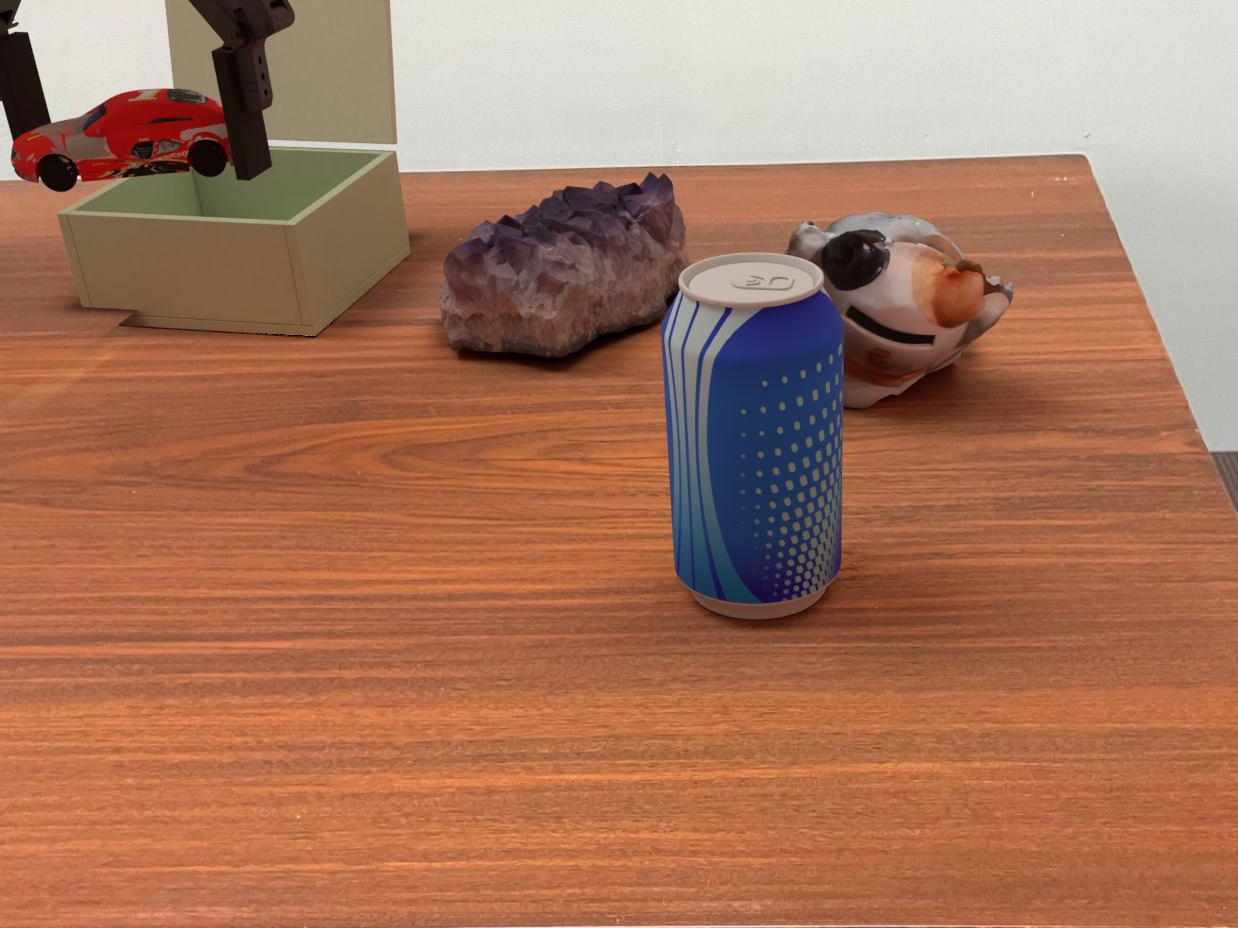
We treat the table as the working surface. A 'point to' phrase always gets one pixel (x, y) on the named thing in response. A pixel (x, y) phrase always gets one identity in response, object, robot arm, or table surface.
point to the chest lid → (307, 69)
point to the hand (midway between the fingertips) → (146, 168)
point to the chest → (241, 242)
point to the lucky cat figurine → (898, 298)
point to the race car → (128, 140)
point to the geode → (566, 270)
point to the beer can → (754, 433)
